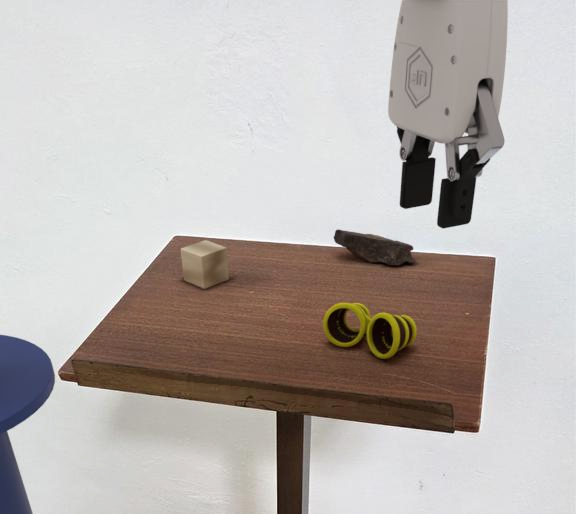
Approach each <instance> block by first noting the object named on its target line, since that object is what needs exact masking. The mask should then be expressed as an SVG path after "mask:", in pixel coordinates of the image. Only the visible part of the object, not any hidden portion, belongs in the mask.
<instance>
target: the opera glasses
mask: <svg viewBox="0 0 576 514" xmlns="http://www.w3.org/2000/svg"><path fill="white" fill-rule="evenodd" d="M349 310H350V311H351V312H353V313H354V314H355V315H356V317H357V318H358V320H359V324H360V325H359V329H354V328H352V327H351V326H350V324H348V322H347V314H348V312H349ZM322 329H323V332H324V333H323V334H324V335H325V337H326V338H327V340H328V341H329V342H330V343H332V344H334V345H335V346H338V347H341V348H349V347H353V346H355V345H356V344H358V343H359V342H360V341H362V339H363V338H364V335H365V334H366V342H367V345H368V347H369V349H370V351H371V353H372V354H373V355H374V356H375V357H377V358H378V359H381V360H387V359H390V358H392V357H393V356H394V355H395V354H396V353H397V352H400V351H401V350H402V349H403V348H405V347H408V346H411V345H412V344H413V343H415V340H416V338H417V335H418V334H417V333H418V329H417V324H416V322H415V321H414V319H413V318H412V317H410V316H409V315H407V314H401V315H396V314H390V313H388V312H378V313H377V314H375V315H373V317H372V316H371V312H370V310H369V308H368V307H366V305H365V304H363V303H359V302H352V303H351V302H338V303H336V304H333V305H332V306H331V307H330V308H328V309H327V310H326V312H325V314H324V316H323V320H322Z"/></svg>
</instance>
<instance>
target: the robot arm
mask: <svg viewBox="0 0 576 514" xmlns="http://www.w3.org/2000/svg"><path fill="white" fill-rule="evenodd" d="M508 3H509V1H508V0H401V3H400V8H399V13H398V18H397V24H396V30H395V37H394V45H393V50H392V51H393V52H392V62H391V70H390V79H389V92H388V106H387V107H388V108H387V112H388V113H387V114H388V118H389V120H390V122H391V123H392V124H393V125H394V126H395V127H396V133H397V137H398V140H399V143H400V147H399V158H400V160H401V161H402V162H401V163H402V164H401V179H400V190H399V191H400V192H399V207H400V208H402V209H404V210H408V209H413V208H417V207H418V208H419V207H424V206H429V205H430V204H432V201H433V194H434V193H433V192H434V183H435V173H436V172H435V171H436V160H437V158H435V157H433V156H432V154H433V151H434V148H435V143H439V144H444V150H445V151H444V152H445V167H446V178H442V179H441V182H440V191H439V198H438V199H439V200H438V208H437V209H438V210H437V218H436V224H437V227H438V228H441V229H448V228H454V227H457V226H458V227H459V226H464V225H468V224H470V222H471V220H472V215H473V208H474V207H473V206H474V199H475V192H476V185H477V178H479V177H481V176H482V174H483V171H484V170H483V169H484V168H485V167H486V166H487V164H489V162H490V161H491V158H493V156H495V155H496V154H497V153H498V152H499V151H500V150H501V149H502V148H503V147H504V146H505V137H504V133H503V129H502V126H501V122H500V120H499V115H500V110H501V104H502V98H503V90H504V83H505V82H504V81H505V71H506V61H507V60H506V59H507V47H508V46H507V44H508V17H509V16H508V15H509V14H508V13H509V12H508V11H509V8H508V7H509V5H508ZM464 134H467V135H464ZM460 146H461V147H463V146H467V147H466V148H467V150H466V152H465V153H464V154H463V155H462V157H460V156H461V154H460ZM431 156H432V157H431Z"/></svg>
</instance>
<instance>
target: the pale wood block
mask: <svg viewBox="0 0 576 514" xmlns="http://www.w3.org/2000/svg"><path fill="white" fill-rule="evenodd" d="M180 257H181V266H182V275H183V281H184V282H187V283H189V284H191V285H193V286H196V287H199V288H201V289H203V290H207V289H208V288H211V287H214V286H215V285H219V284H222V283H223V282H226V281H229V280H230V275H229V259H228V248H227V246H223V245H221V244H218V243H215V242H212V241H209V240H207V239H205V240H202V241H199V242H196V243H193V244H190V245H187V246H185V247H181V248H180Z"/></svg>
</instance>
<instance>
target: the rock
mask: <svg viewBox="0 0 576 514" xmlns="http://www.w3.org/2000/svg"><path fill="white" fill-rule="evenodd" d="M333 241H334V242H335V244H336V245H339V246H341V247H343V248H345V249H346V250H347V251H348V252H350V253H351V254H353V256H355V257H357V258H360V259H362V260H364V261H366V262H368V263H371V264H372V263H373V264H374V263H383V264H387V265H390V266H400V265H403V264H404V263H408V264H414V263H415V261H416V259H415V258H414V257H413V254H412V252H411V251H413V250H414V246H413V245H412V244H409V243H405V242H402V241H399V240H395V239H391V238H387V237H384V236H381V235H377V234H373V233H361V232H355V231H349V230H343V229H340V228H339V229H336V230H335V232H334V235H333Z"/></svg>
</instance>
